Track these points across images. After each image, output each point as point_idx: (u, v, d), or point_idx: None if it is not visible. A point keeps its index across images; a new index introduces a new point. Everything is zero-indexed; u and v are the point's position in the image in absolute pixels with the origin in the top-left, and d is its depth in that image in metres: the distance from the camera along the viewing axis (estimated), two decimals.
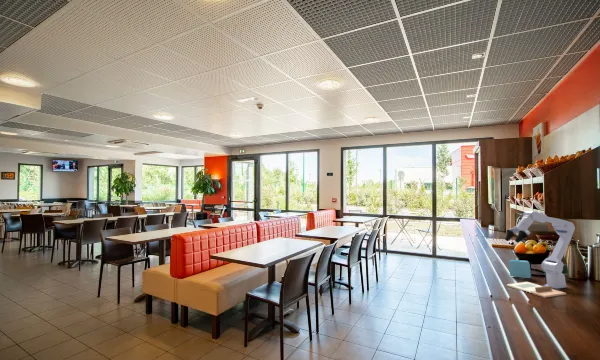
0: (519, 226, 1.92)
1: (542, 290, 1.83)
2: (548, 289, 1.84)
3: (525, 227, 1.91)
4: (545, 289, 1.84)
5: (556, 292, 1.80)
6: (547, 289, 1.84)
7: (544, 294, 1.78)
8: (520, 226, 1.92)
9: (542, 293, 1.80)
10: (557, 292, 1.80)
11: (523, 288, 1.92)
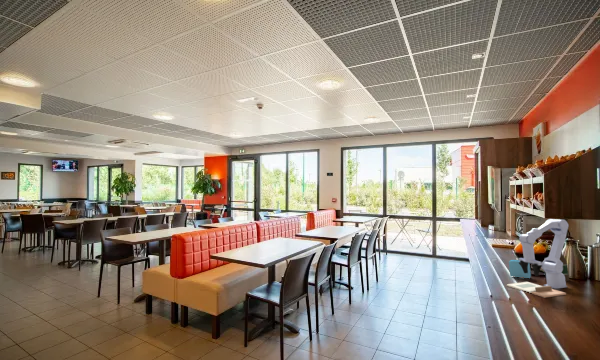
0: (527, 258, 1.91)
1: (542, 290, 1.83)
2: (548, 289, 1.84)
3: (532, 256, 1.90)
4: (545, 289, 1.84)
5: (556, 292, 1.80)
6: (547, 289, 1.84)
7: (544, 294, 1.78)
8: (528, 258, 1.91)
9: (542, 293, 1.80)
10: (557, 292, 1.80)
11: (523, 288, 1.92)
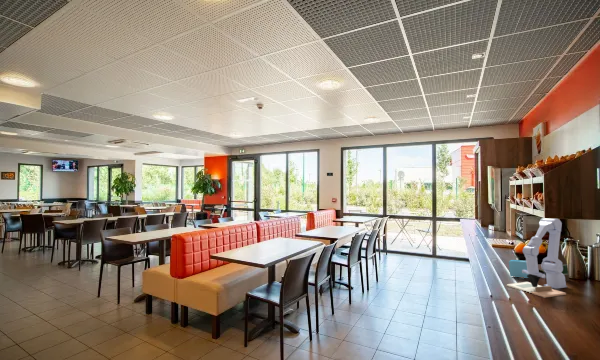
0: (531, 270, 1.89)
1: (542, 290, 1.83)
2: (548, 289, 1.84)
3: (536, 268, 1.88)
4: (545, 289, 1.84)
5: (556, 292, 1.80)
6: (547, 289, 1.84)
7: (544, 294, 1.78)
8: (531, 270, 1.89)
9: (542, 293, 1.80)
10: (557, 292, 1.80)
11: (523, 288, 1.92)
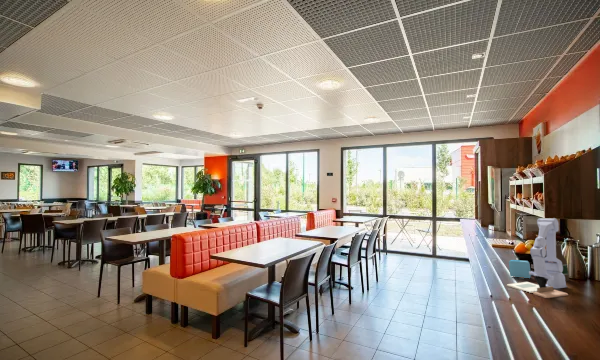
0: (538, 272, 1.84)
1: (544, 291, 1.82)
2: (550, 290, 1.83)
3: (544, 270, 1.83)
4: (547, 290, 1.83)
5: (558, 293, 1.79)
6: (549, 290, 1.83)
7: (546, 295, 1.77)
8: (539, 272, 1.84)
9: (544, 294, 1.79)
10: (559, 293, 1.79)
11: (523, 288, 1.92)
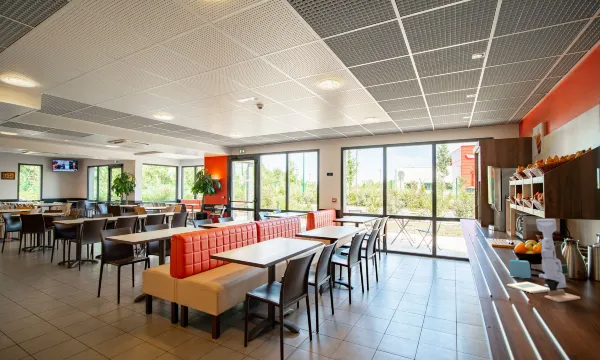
0: (549, 275, 1.78)
1: (555, 294, 1.76)
2: (561, 293, 1.76)
3: (555, 273, 1.76)
4: (558, 293, 1.76)
5: (570, 296, 1.72)
6: (560, 293, 1.76)
7: (557, 298, 1.70)
8: (550, 275, 1.77)
9: (555, 297, 1.72)
10: (571, 296, 1.72)
11: (523, 288, 1.92)
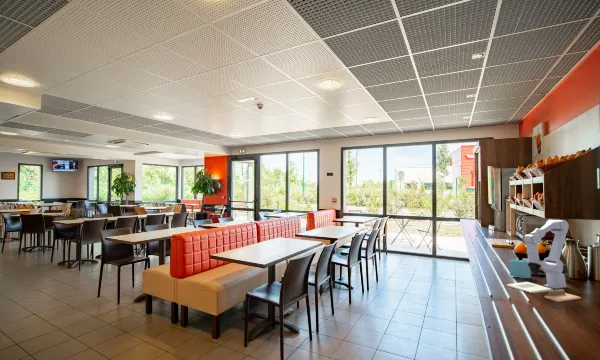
0: (531, 259, 1.90)
1: (555, 294, 1.75)
2: (561, 293, 1.76)
3: (537, 256, 1.89)
4: (558, 293, 1.76)
5: (570, 296, 1.72)
6: (560, 293, 1.76)
7: (558, 298, 1.70)
8: (532, 258, 1.90)
9: (555, 297, 1.72)
10: (571, 296, 1.72)
11: (523, 288, 1.92)
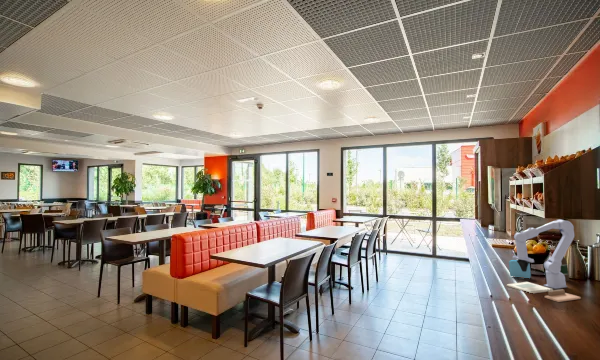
0: (520, 256, 2.00)
1: (555, 294, 1.75)
2: (561, 293, 1.76)
3: (525, 253, 1.98)
4: (558, 293, 1.76)
5: (570, 296, 1.72)
6: (560, 293, 1.76)
7: (558, 298, 1.70)
8: (521, 255, 1.99)
9: (555, 297, 1.72)
10: (571, 296, 1.72)
11: (523, 288, 1.92)
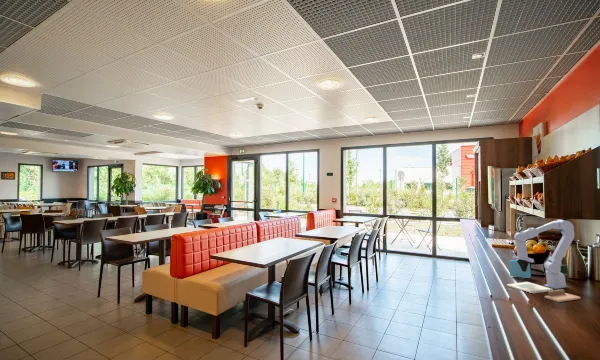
0: (520, 256, 2.00)
1: (555, 294, 1.75)
2: (561, 293, 1.76)
3: (525, 253, 1.98)
4: (558, 293, 1.76)
5: (570, 296, 1.72)
6: (560, 293, 1.76)
7: (558, 298, 1.70)
8: (521, 255, 1.99)
9: (555, 297, 1.72)
10: (571, 296, 1.72)
11: (523, 288, 1.92)
